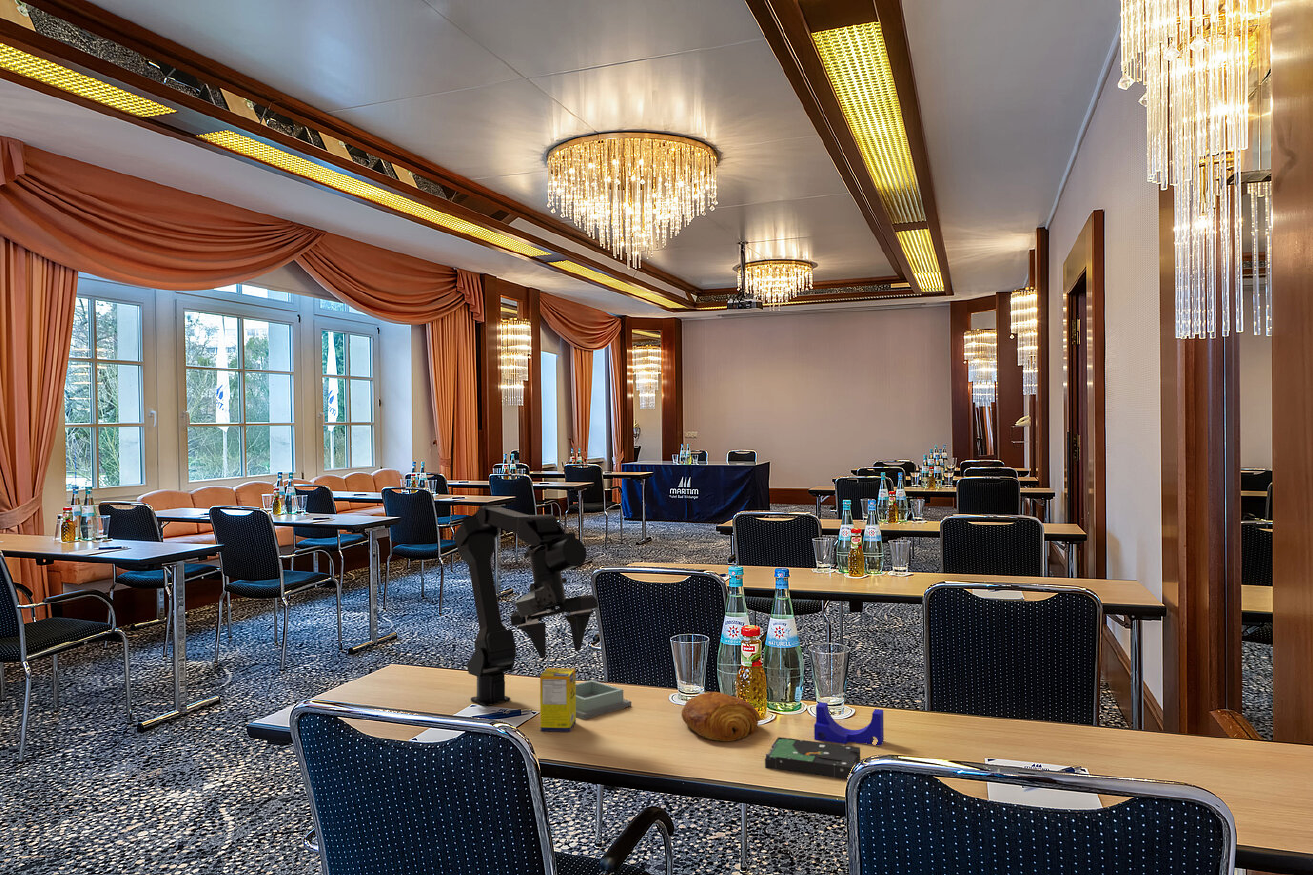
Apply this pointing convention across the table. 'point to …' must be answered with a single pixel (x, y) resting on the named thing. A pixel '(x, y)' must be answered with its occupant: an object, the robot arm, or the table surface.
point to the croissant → (720, 716)
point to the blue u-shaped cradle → (835, 733)
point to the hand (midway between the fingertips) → (560, 654)
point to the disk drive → (812, 757)
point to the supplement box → (557, 699)
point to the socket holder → (598, 699)
